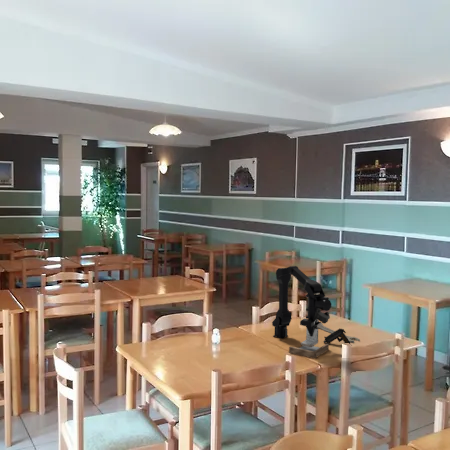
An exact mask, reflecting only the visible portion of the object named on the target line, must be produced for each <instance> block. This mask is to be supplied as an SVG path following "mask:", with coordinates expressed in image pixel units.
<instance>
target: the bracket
mask: <svg viewBox="0 0 450 450" xmlns="http://www.w3.org/2000/svg"><path fill="white" fill-rule="evenodd" d="M305 331H306V334H305V335H306V336H305V337H306V338H305V339H304V340H303V341H302V342H300V345H301V346H307V347H313V346H316V345H317V344H319V328H314V331H313V336H310V334H309V332H308V329H307V328H306V330H305Z"/></svg>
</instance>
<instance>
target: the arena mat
mask: <svg viewBox="0 0 450 450" xmlns="http://www.w3.org/2000/svg"><path fill="white" fill-rule="evenodd" d="M320 347H321V346H316V345H314V346H313V347H307V346H303V345H301V346H300V347H299V348H300V349H305V350H310V351H315V350H317V349H319V348H320Z"/></svg>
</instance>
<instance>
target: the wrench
mask: <svg viewBox="0 0 450 450" xmlns="http://www.w3.org/2000/svg"><path fill="white" fill-rule="evenodd" d="M323 324H324V323H322V322H321V323H320V324H319V325H318V326H317V328H318V330H319V329H320V330H322V331H324V332H326V333H329V334H332V333H333V332H335V331H336V330H334V329H331V328H329V327H327V326H324V325H323ZM345 336H346V337H347V338H348V340H349V341H350V344H351V343H352V344H354V343H355V341H357V342H360V341H361V339H360V338H358V337H355V336H349V335H346V334H345Z"/></svg>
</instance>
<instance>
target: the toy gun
mask: <svg viewBox="0 0 450 450" xmlns="http://www.w3.org/2000/svg"><path fill="white" fill-rule="evenodd" d="M334 331H335V332H333V333H332V334H331V333H329V335H327V336H324V340H323V343H324V344H330V343H332V342H333V341H335V340H337V342H338V343H340V342H342V341H343V342H344V344H345V343H349V345H350V344H351V342H350V341H349V340H348V338H347V337H346V336H347V335H346V333H347V332H346V330H345V329H344V328H338V329H336V330H334ZM345 335H346V336H345Z"/></svg>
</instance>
